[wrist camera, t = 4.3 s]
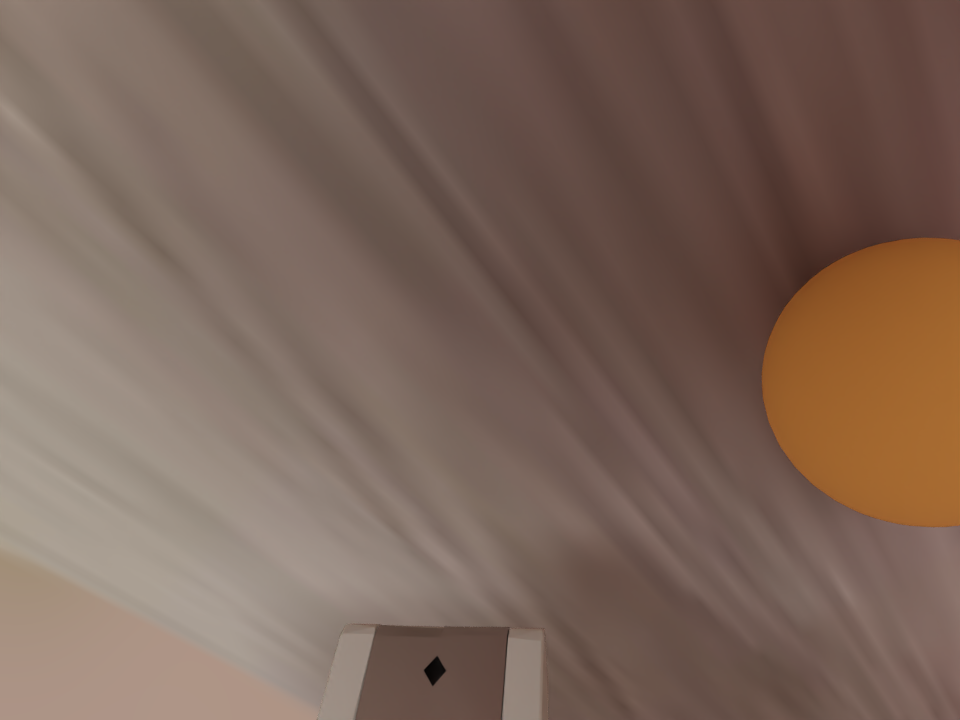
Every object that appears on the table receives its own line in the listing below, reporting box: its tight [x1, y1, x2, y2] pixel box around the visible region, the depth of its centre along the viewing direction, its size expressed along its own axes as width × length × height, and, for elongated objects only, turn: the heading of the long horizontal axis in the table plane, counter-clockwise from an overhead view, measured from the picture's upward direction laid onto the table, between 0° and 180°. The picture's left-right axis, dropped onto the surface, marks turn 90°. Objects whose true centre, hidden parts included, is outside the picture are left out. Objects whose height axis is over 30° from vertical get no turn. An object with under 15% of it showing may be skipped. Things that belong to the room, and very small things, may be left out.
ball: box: [762, 238, 960, 527], centre depth 14 cm, size 6×6×6 cm
